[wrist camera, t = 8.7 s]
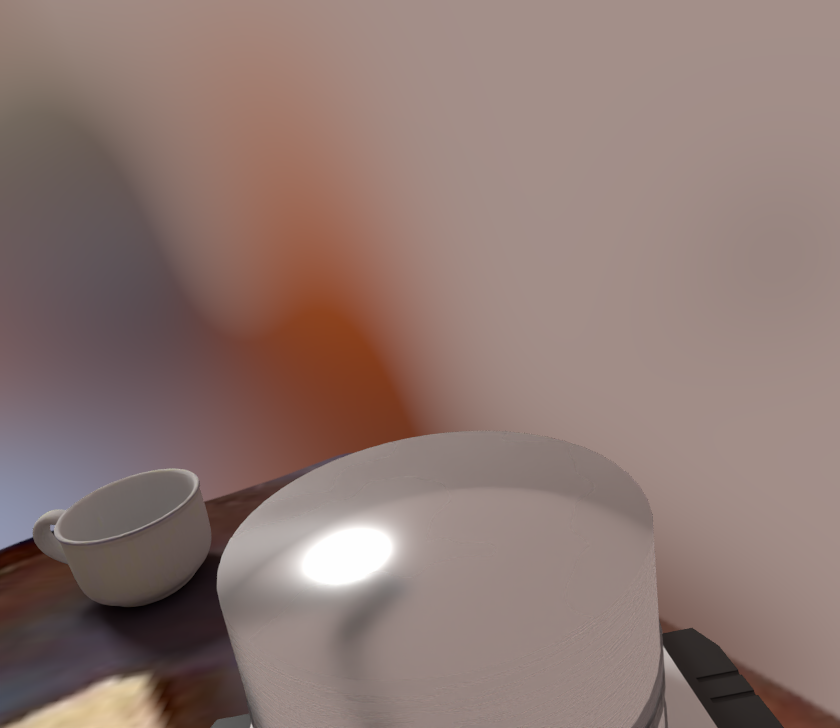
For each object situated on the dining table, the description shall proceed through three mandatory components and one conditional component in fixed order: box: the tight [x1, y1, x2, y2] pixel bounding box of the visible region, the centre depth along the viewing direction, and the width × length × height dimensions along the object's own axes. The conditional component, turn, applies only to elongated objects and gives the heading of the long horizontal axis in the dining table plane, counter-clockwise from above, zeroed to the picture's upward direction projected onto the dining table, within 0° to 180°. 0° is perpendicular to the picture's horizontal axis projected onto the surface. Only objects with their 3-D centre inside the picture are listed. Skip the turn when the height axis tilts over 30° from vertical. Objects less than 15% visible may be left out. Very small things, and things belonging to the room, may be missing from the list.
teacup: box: [33, 468, 211, 607], centre depth 48 cm, size 14×11×8 cm
